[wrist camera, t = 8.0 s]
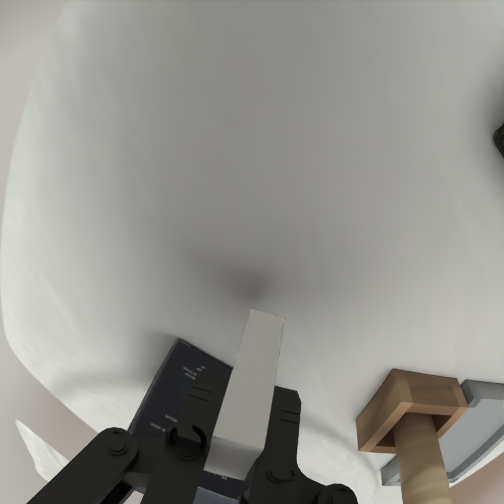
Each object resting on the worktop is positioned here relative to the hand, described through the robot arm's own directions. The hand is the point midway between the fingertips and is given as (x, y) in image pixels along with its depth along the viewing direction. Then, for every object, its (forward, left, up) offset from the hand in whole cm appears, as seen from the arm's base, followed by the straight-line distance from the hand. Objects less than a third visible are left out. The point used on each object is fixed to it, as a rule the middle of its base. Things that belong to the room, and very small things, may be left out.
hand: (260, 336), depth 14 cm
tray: (+10, +22, -4) cm, 24 cm away
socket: (+6, +13, -4) cm, 15 cm away
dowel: (+6, +13, -4) cm, 15 cm away
